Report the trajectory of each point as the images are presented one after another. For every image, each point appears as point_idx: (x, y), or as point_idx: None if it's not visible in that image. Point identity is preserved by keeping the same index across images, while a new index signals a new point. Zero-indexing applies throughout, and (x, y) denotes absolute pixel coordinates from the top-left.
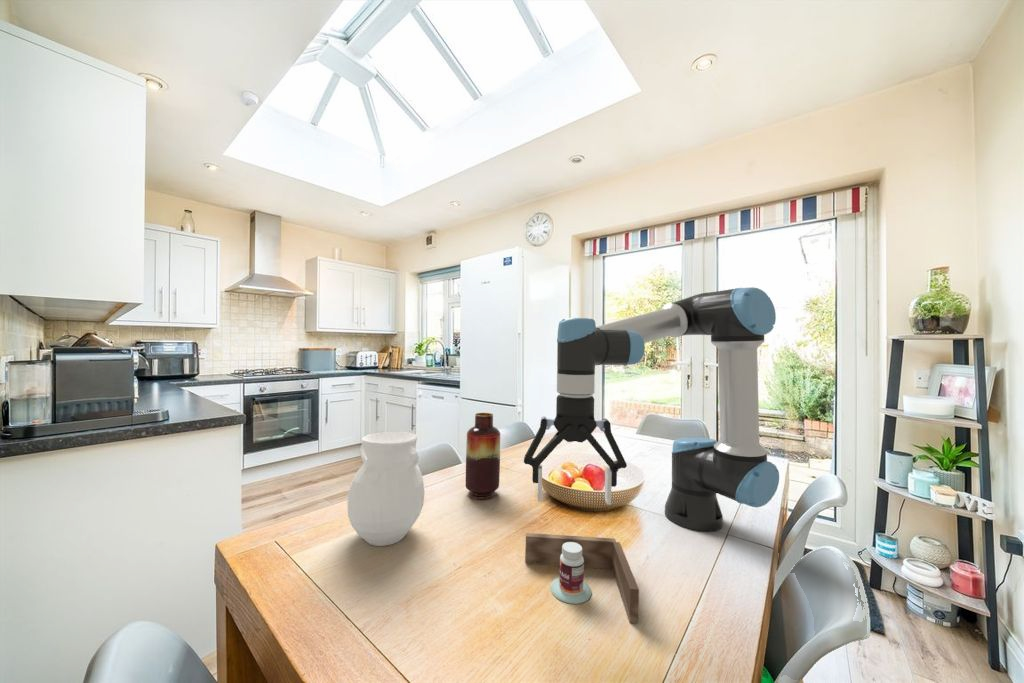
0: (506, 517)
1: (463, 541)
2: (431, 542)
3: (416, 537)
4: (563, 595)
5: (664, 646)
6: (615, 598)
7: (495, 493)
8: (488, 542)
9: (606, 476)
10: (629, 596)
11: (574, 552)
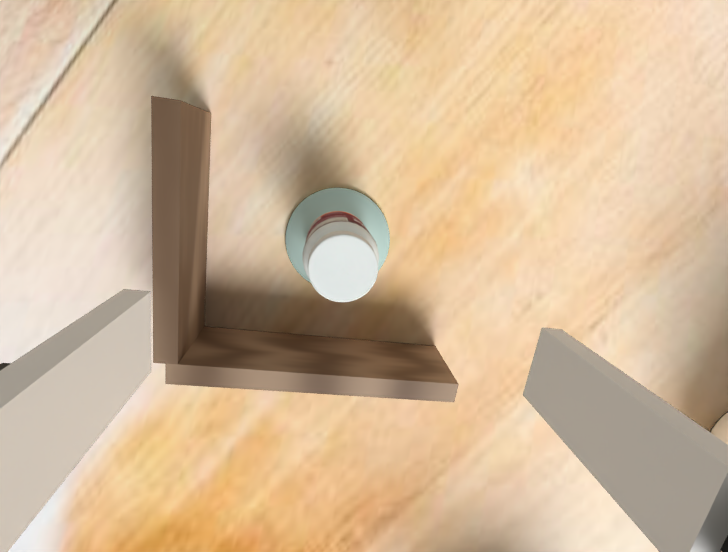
0: (452, 537)
1: None
2: None
3: None
4: (362, 214)
5: (140, 23)
6: (225, 207)
7: None
8: (513, 426)
9: (37, 444)
10: (190, 114)
11: (342, 235)
